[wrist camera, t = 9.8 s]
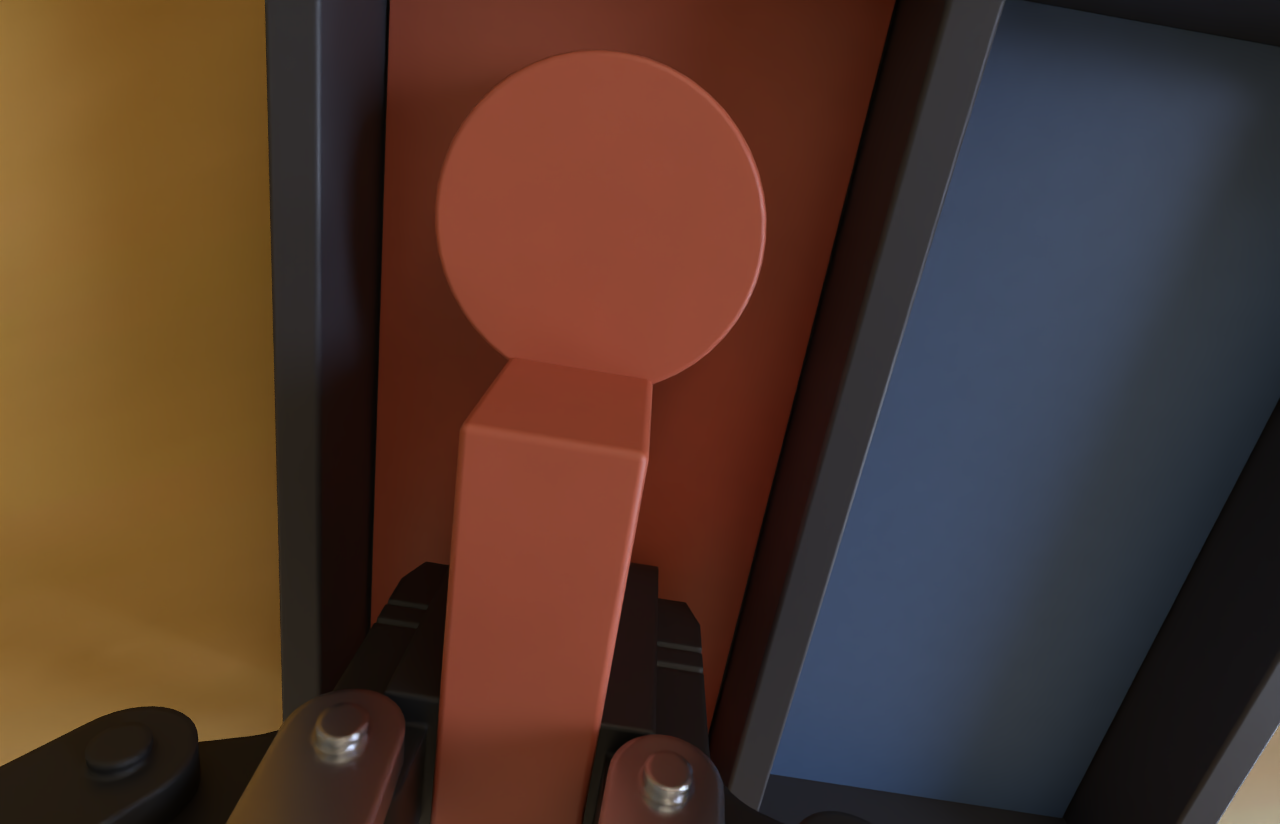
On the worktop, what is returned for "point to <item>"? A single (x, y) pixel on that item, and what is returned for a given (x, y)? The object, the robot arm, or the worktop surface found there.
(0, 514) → the worktop surface
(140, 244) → the worktop surface
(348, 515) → the cutlery tray
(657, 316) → the terracotta spoon
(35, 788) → the robot arm
